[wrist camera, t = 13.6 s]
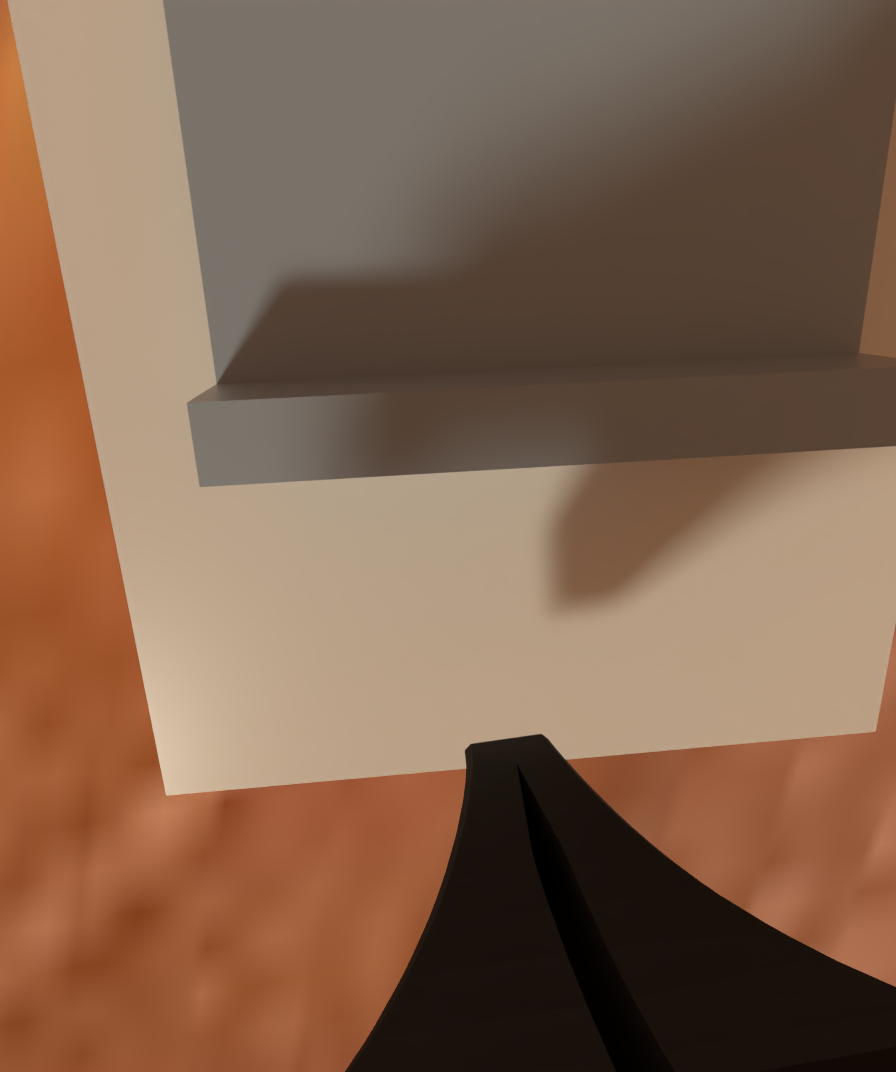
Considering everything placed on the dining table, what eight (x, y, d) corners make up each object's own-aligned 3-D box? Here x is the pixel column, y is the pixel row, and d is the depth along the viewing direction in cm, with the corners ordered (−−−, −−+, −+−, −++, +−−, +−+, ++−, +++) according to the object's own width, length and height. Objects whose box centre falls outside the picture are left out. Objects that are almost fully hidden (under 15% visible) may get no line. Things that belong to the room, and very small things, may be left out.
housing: (218, 668, 21) (166, 795, 16) (93, -112, 15) (-57, -324, 10) (758, 626, 22) (875, 731, 17) (843, -111, 16) (1065, -299, 11)
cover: (235, 446, 13) (200, 486, 10) (121, -394, 9) (22, -658, 7) (823, 413, 14) (928, 444, 11) (928, -370, 10) (1120, -598, 8)
